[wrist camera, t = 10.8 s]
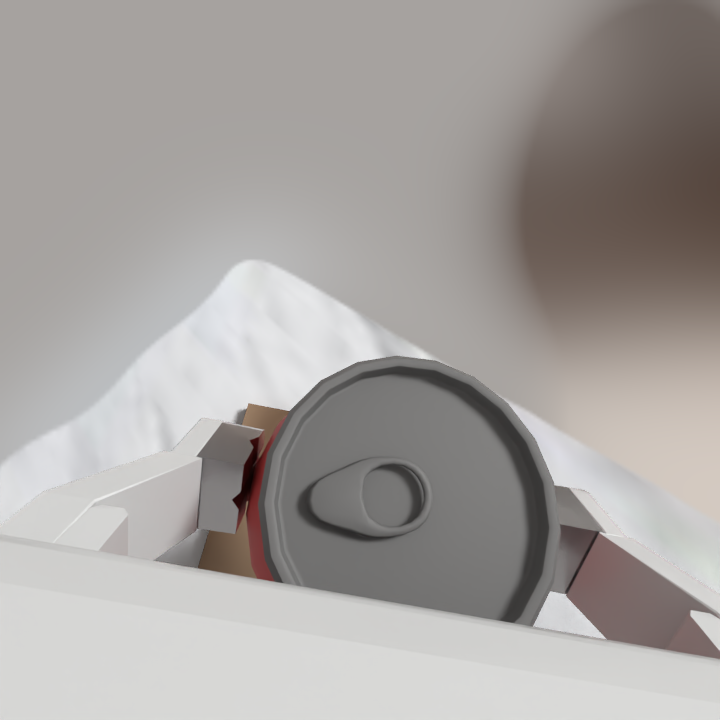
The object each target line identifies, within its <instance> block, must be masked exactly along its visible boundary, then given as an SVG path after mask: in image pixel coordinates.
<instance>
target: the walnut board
mask: <svg viewBox="0 0 720 720" xmlns="http://www.w3.org/2000/svg"><path fill="white" fill-rule="evenodd" d="M288 413H289V411H285V410H280V409H275V408H270V407H264V406H259V405H254V404H248V407H247V410H246V413H245V417H244V420H243V423H242V425H244V426H248V427H253V428H258V429H262V430H264V431H265V438H264V446H263V448H262V450H261V452H260V454H259V458H260V456H261V455H262V453H263V451H264V449H265V447H266V445H267V443H268V442H269V440H270V438H271V436H272V434H273V432H274V430H275V428H276V427H277V425H278V424H279V422H280V421H281V420H282V419H283V418H284V417H285V416H286V415H287V414H288ZM247 505H248V501H247V503H246V510H245V514H244V516H243V518H242V521H241V523H240V525H239V527H238V529H237V532H236V534H232V533H225V532H218V531H211V530H209V533H208V536H207V540H206V543H205V546H204V549H203V553H202V556H201V559H200V562H199V566H198V568H199V569H204V570H210V571H216V572H222V573H227V574H233V575H239V576H245V577H250V578H256V579H257V577H256V575H255V573H254V570H253V568H252V566H251V558H250V548H249V539H248V530H247V521H246V511H247Z"/></svg>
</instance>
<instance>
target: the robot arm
mask: <svg viewBox="0 0 720 720" xmlns="http://www.w3.org/2000/svg"><path fill="white" fill-rule="evenodd" d="M264 438H265V431H264V430H262V429H258V428H253V427H248V426H244V425H239V424H234V423H229V422H224V421H221V420H215V419H209V418H202V419H200V420H199V421H198V422H197V424H196V425H195V426H194V427H193V428H192V429H191V430H190V431H189V432H188V433H187V435H186V436H185V437H184V438H183V439H182V440H181V441H180V442H179V443H178V444H177V446H176V447H175V448H174V449H173V450H172V451H171V452H168V451H162V452H159V453H156V454H153V455H150V456H147V457H144V458H141V459H138V460H135V461H132V462H129V463H126V464H124V465H121V466H118V467H115V468H112V469H109V470H106V471H103V472H100V473H97V474H94V475H91V476H88V477H85V478H82V479H79V480H76V481H73V482H70V483H67V484H64V485H61V486H58V487H55V488H52V489H49V490H46V491H43V492H42V493H40V494H39V495H38V496H37V497H35V498H34V499H33V500H32V501H30V502H29V503H28V504H27V505H25V506H24V507H23V508H21V509H20V510H19V511H18V512H16V513H15V514H14V515H13V516H11V517H10V518H9V519H8V520H6V521H5V522H4V523H2V524H1V525H0V720H720V594H719V593H717V592H716V591H714V590H713V589H711V588H709V587H708V586H706V585H705V584H703V583H702V582H700V581H699V580H697V579H696V578H694V577H692V576H691V575H689V574H688V573H686V572H685V571H683V570H682V569H680V568H679V567H677V566H675V565H674V564H672V563H671V562H669V561H668V560H666V559H665V558H663V557H662V556H660V555H658V554H657V553H655V552H654V551H652V550H651V549H649V548H648V547H646V546H645V545H643V544H641V543H640V542H638V541H637V540H635V539H633V538H628V537H627V536H626V535H625V534H624V533H623V531H622V530H621V529H620V528H619V527H618V526H617V524H616V523H615V522H614V521H613V520H612V519H611V517H610V516H609V515H608V514H607V513H606V512H605V510H604V509H603V508H602V507H601V506H600V505H599V503H598V502H597V501H596V500H595V499H594V498H593V496H592V495H591V494H590V493H589V492H587V491H585V490H581V489H575V488H568V487H561V486H555V485H554V488H555V494H556V501H557V508H558V515H559V522H560V529H561V535H560V542H559V550H558V557H557V564H556V571H555V578H554V584H553V586H552V588H551V590H550V591H553V592H558V593H562V594H567V595H566V596H567V597H568V599H569V600H570V601H571V602H572V603H573V604H574V605H575V606H576V607H577V608H578V609H579V610H580V611H581V612H582V613H583V614H584V615H585V616H586V618H587V619H588V620H589V621H590V622H591V623H592V624H593V625H594V626H595V627H596V628H597V629H598V630H599V631H600V632H601V633H602V634H603V635H604V637H605V638H606V639H601V638H595V637H590V636H584V635H578V634H572V633H567V632H561V631H555V630H549V629H544V628H538V627H532V626H526V625H521V624H515V623H509V622H504V621H498V620H492V619H486V618H480V617H474V616H469V615H463V614H457V613H451V612H445V611H440V610H434V609H428V608H422V607H417V606H411V605H405V604H399V603H394V602H388V601H382V600H377V599H371V598H365V597H359V596H354V595H348V594H342V593H336V592H331V591H325V590H319V589H313V588H308V587H302V586H296V585H290V584H285V583H279V582H273V581H268V580H262V579H256V578H250V577H245V576H239V575H233V574H227V573H222V572H216V571H210V570H204V569H199V568H193V567H187V566H181V565H176V564H170V563H164V562H159V561H153V560H155V559H156V558H158V557H159V556H161V555H162V554H163V553H165V552H166V551H168V550H169V549H171V548H172V547H174V546H175V545H176V544H178V543H179V542H181V541H182V540H184V539H185V538H186V537H188V536H189V535H191V534H192V533H194V532H195V531H196V529H197V528H198V529H205V530H211V531H218V532H225V533H232V534H236V532H237V529H238V527H239V525H240V523H241V521H242V518H243V516H244V514H245V510H246V503H247V501H248V500H249V495H250V490H251V485H252V480H253V475H254V469H255V466H256V464H257V462H258V460H259V454H260V452H261V450H262V448H263V446H264Z"/></svg>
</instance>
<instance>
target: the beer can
mask: <svg viewBox="0 0 720 720" xmlns="http://www.w3.org/2000/svg"><path fill="white" fill-rule="evenodd" d="M246 521H247V530H248V539H249V548H250V558H251V566H252V568H253V570H254V573H255V575H256V577H257V579H262V580H268V581H273V582H279V583H285V584H290V585H296V586H302V587H308V588H313V589H319V590H325V591H331V592H336V593H342V594H348V595H354V596H359V597H365V598H371V599H377V600H382V601H388V602H394V603H399V604H405V605H411V606H417V607H422V608H428V609H434V610H440V611H445V612H451V613H457V614H463V615H469V616H474V617H480V618H486V619H492V620H498V621H504V622H509V623H515V624H521V625H526V626H532V627H533V625H534V623H535V621H536V619H537V617H538V614H539V612H540V610H541V608H542V606H543V604H544V602H545V600H546V598H547V596H548V594H549V592H550V590H551V588H552V586H553V584H554V578H555V571H556V564H557V557H558V550H559V542H560V535H561V529H560V522H559V515H558V508H557V501H556V494H555V488H554V482H553V480H552V477H551V475H550V473H549V470H548V468H547V466H546V463H545V461H544V459H543V456H542V454H541V452H540V449H539V447H538V445H537V442H536V440H535V438H534V437H533V436H532V434H531V433H530V432H529V430H528V429H527V428H526V427H525V425H524V424H523V423H522V421H521V420H520V419H519V417H518V416H517V415H516V414H515V412H514V411H513V410H512V408H511V407H510V406H509V404H508V403H507V402H505V401H504V400H503V399H502V398H500V397H499V396H498V395H496V394H495V393H494V392H493V391H491V390H490V389H489V388H487V387H486V386H485V385H484V384H482V383H481V382H480V381H478V380H477V379H476V378H475V377H473V376H471V375H468V374H466V373H464V372H461V371H459V370H456V369H454V368H452V367H449V366H447V365H445V364H442V363H440V362H438V361H433V360H425V359H418V358H410V357H402V356H392V357H386V358H380V359H374V360H368V361H362V362H357V363H355V364H353V365H351V366H349V367H347V368H345V369H343V370H341V371H339V372H337V373H335V374H333V375H331V376H329V377H327V378H325V379H323V380H321V381H320V382H319V383H318V384H317V385H316V386H315V387H314V388H313V389H312V390H311V391H310V392H309V393H308V394H307V395H306V396H305V397H304V398H303V399H302V400H301V401H300V402H298V403H297V404H296V405H295V406H294V407H293V408H292V409H291V410H290V411H289V413H288V414H287V415H286V416H285V417H284V418H283V419H282V420H281V421H280V422H279V424H278V425H277V427H276V428H275V430H274V432H273V434H272V436H271V438H270V440H269V442H268V443H267V445H266V447H265V449H264V451H263V453H262V455H261V456H260V458H259V460H258V462H257V464H256V466H255V469H254V475H253V480H252V485H251V490H250V495H249V500H248V505H247V511H246Z"/></svg>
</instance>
